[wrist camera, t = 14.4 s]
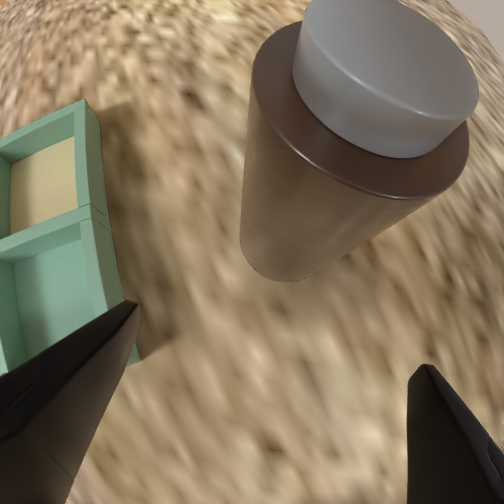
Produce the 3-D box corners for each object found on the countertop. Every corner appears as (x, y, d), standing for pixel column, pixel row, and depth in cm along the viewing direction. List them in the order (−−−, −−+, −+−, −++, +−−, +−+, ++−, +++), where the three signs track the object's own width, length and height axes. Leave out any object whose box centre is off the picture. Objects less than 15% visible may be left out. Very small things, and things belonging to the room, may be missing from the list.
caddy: (141, 361, 16) (123, 368, 13) (29, 381, 15) (3, 387, 12) (99, 122, 19) (85, 98, 16) (8, 162, 18) (-12, 146, 15)
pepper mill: (244, 287, 17) (286, 163, 3) (235, 197, 18) (242, -35, 5) (336, 276, 18) (541, 172, 4) (321, 190, 19) (441, -1, 5)
